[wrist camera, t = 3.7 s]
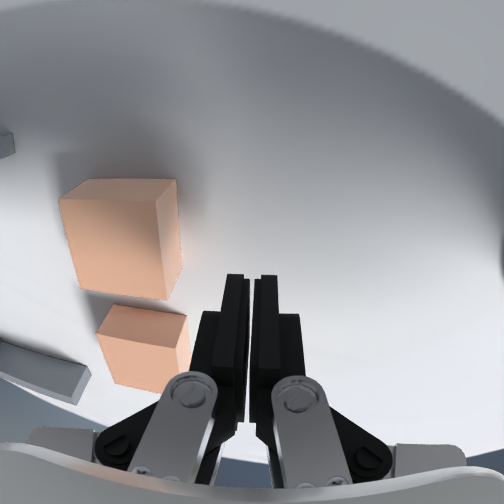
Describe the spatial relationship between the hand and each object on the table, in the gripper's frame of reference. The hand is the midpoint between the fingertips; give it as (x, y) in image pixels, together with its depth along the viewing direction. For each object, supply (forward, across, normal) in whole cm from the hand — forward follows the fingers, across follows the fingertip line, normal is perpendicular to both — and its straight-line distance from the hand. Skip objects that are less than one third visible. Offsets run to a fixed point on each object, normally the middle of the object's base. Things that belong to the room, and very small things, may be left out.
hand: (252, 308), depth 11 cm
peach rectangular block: (+6, +7, +8) cm, 12 cm away
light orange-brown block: (+6, +6, 0) cm, 9 cm away
